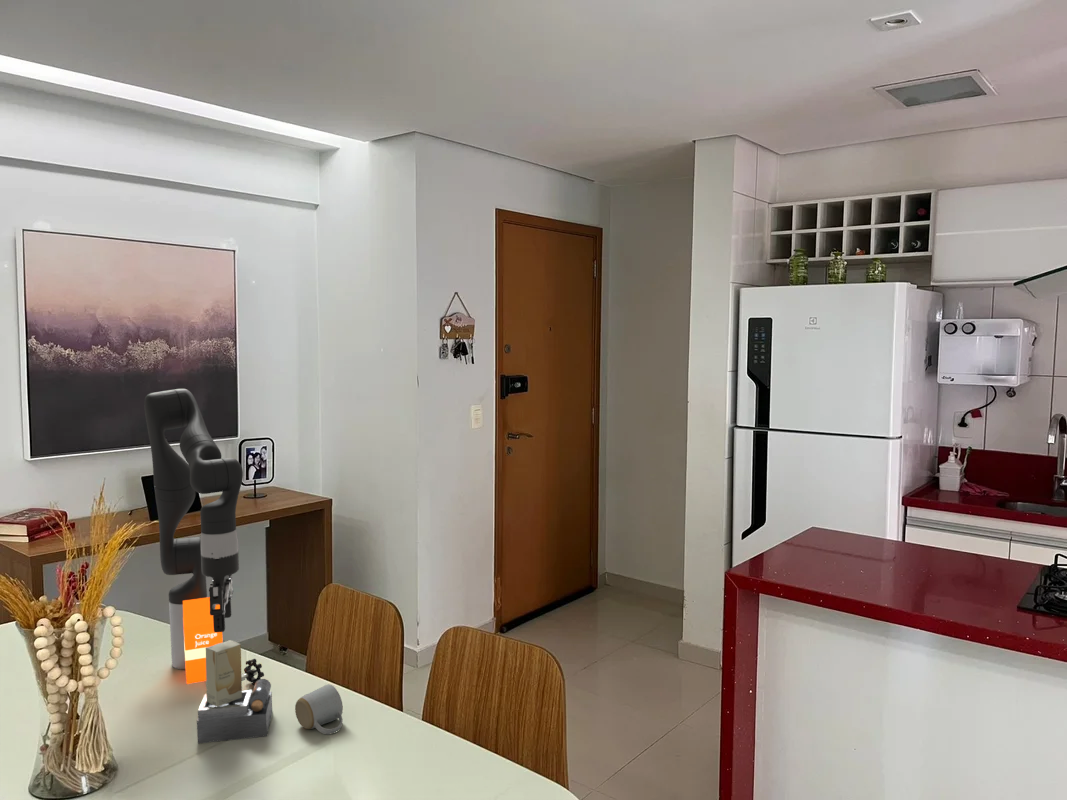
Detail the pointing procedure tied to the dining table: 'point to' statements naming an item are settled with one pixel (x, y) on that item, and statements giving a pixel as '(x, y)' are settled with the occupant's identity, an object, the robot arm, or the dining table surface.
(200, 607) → the orange juice
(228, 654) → the skincare box
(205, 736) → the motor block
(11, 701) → the dining table surface
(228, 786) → the dining table surface
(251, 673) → the valve
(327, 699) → the ceramic mug
